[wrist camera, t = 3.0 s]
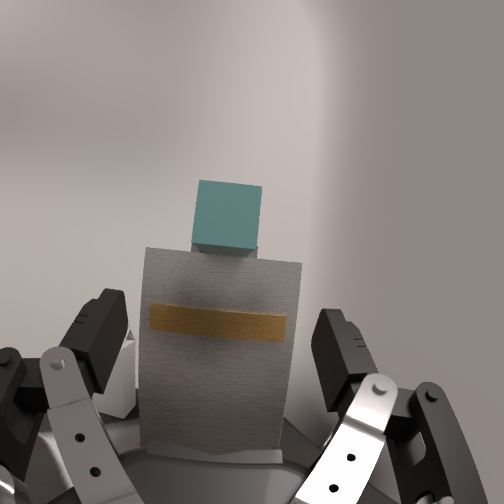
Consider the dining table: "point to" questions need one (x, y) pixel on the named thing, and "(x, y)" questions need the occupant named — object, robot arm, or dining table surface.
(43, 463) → the dining table surface
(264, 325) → the tall grey box
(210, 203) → the teal tapered block
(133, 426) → the dining table surface
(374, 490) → the dining table surface
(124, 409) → the milk carton
